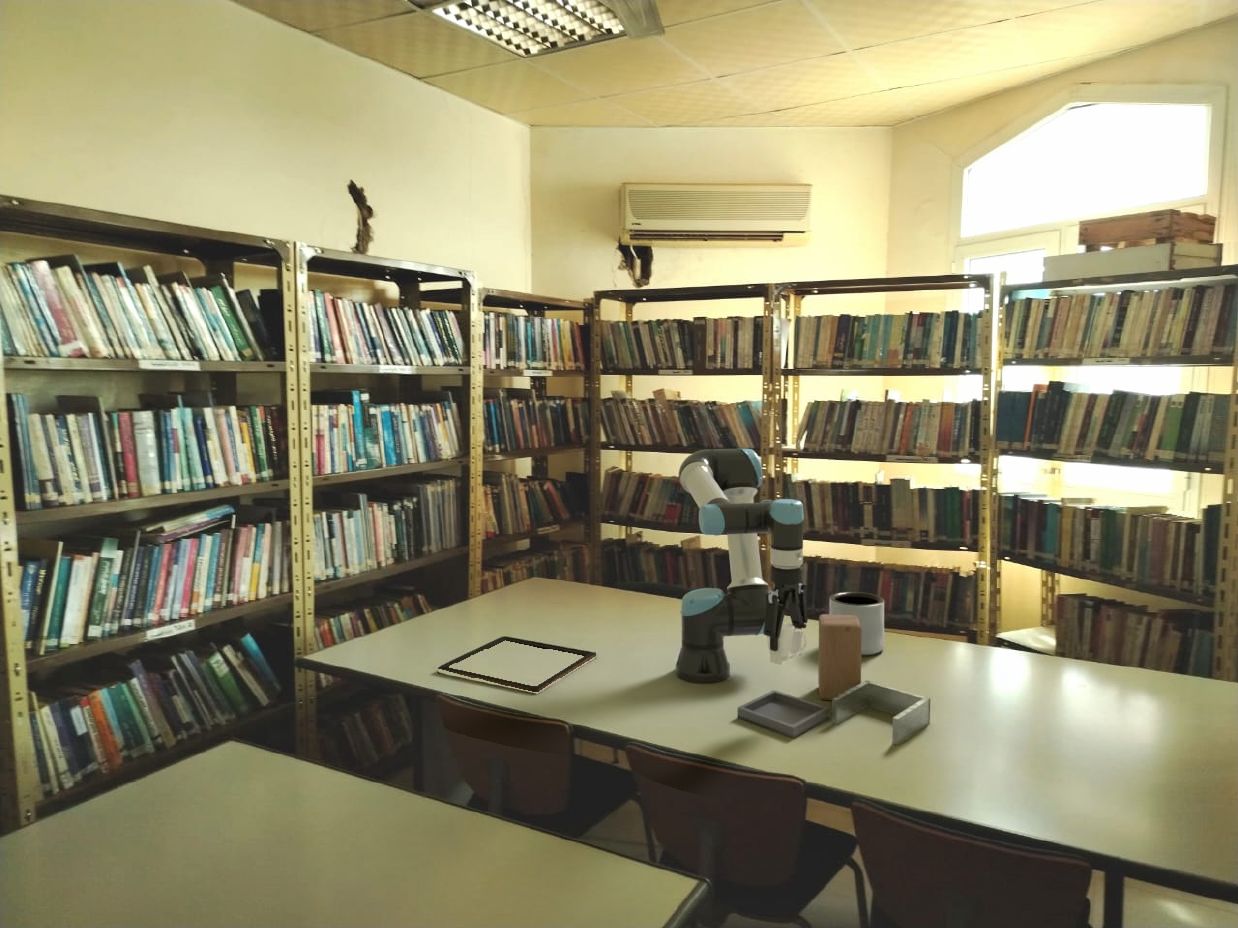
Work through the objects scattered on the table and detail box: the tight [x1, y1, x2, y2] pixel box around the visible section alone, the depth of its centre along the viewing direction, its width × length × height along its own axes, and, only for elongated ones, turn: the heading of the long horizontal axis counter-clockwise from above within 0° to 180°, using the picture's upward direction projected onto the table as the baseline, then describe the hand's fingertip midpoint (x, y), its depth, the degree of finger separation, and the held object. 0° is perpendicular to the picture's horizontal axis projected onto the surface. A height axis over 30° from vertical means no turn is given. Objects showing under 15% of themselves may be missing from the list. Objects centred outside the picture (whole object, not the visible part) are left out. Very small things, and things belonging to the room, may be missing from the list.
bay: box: [831, 679, 931, 746], centre depth 183 cm, size 16×16×6 cm
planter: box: [828, 591, 885, 657], centre depth 235 cm, size 16×16×16 cm
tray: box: [737, 689, 830, 739], centre depth 187 cm, size 16×15×3 cm
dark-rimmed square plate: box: [437, 636, 597, 692], centre depth 226 cm, size 38×35×3 cm
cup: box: [766, 622, 808, 662], centre depth 186 cm, size 7×10×8 cm
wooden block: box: [817, 613, 862, 701], centre depth 200 cm, size 10×10×20 cm
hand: (785, 658), depth 186 cm, fingers closed on cup, 8 cm apart
